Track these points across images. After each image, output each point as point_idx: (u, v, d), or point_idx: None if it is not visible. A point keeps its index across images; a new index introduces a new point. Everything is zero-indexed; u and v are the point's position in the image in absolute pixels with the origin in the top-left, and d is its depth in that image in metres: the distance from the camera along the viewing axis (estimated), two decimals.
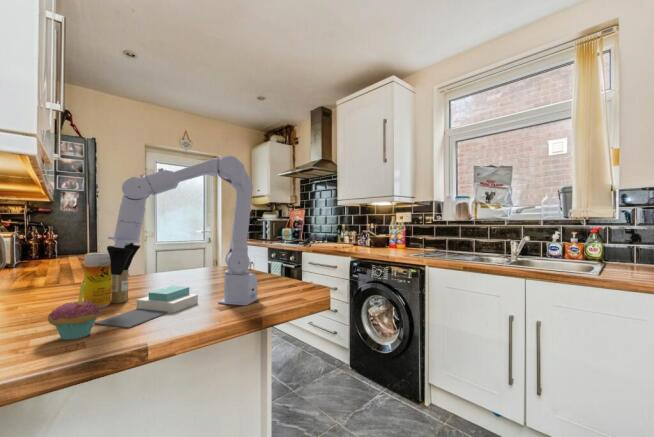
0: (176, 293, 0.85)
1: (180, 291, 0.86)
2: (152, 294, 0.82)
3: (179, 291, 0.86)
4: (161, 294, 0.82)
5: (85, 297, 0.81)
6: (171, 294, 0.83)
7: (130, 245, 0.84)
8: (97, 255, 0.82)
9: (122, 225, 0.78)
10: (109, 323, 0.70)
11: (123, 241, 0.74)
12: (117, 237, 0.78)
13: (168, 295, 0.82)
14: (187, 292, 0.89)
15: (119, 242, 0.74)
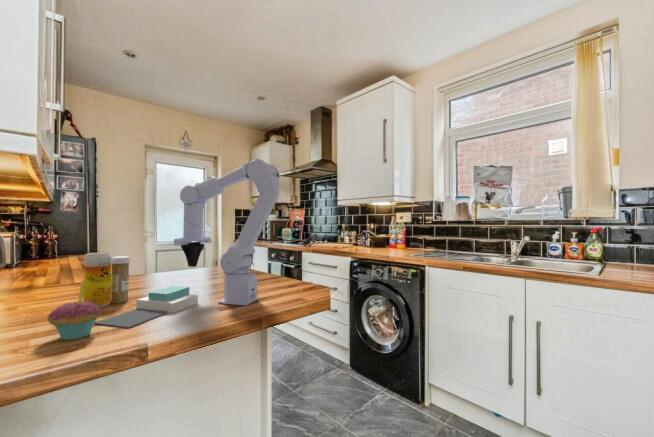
0: (176, 293, 0.85)
1: (180, 291, 0.86)
2: (152, 294, 0.82)
3: (179, 291, 0.86)
4: (161, 294, 0.82)
5: (85, 297, 0.81)
6: (171, 294, 0.83)
7: (195, 244, 0.96)
8: (97, 255, 0.82)
9: (185, 227, 0.94)
10: (109, 323, 0.70)
11: (178, 240, 0.89)
12: (183, 237, 0.94)
13: (168, 295, 0.82)
14: (187, 292, 0.89)
15: (176, 241, 0.89)
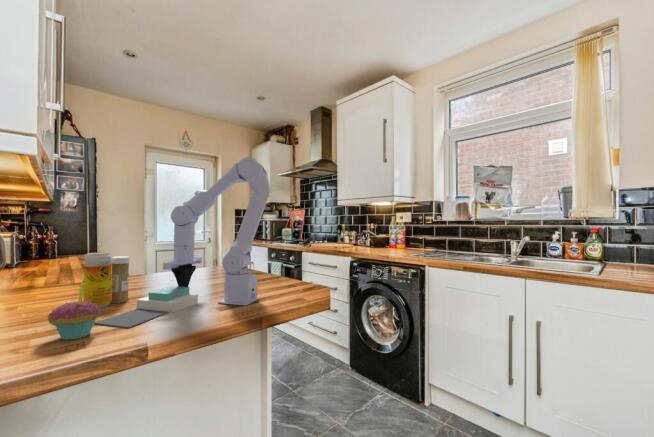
0: (176, 293, 0.85)
1: (180, 291, 0.86)
2: (152, 294, 0.82)
3: (179, 291, 0.86)
4: (161, 294, 0.82)
5: (85, 297, 0.81)
6: (171, 294, 0.83)
7: (186, 266, 0.92)
8: (97, 255, 0.82)
9: (175, 249, 0.90)
10: (109, 323, 0.70)
11: (168, 263, 0.85)
12: (173, 260, 0.90)
13: (168, 295, 0.82)
14: (187, 292, 0.89)
15: (165, 265, 0.85)
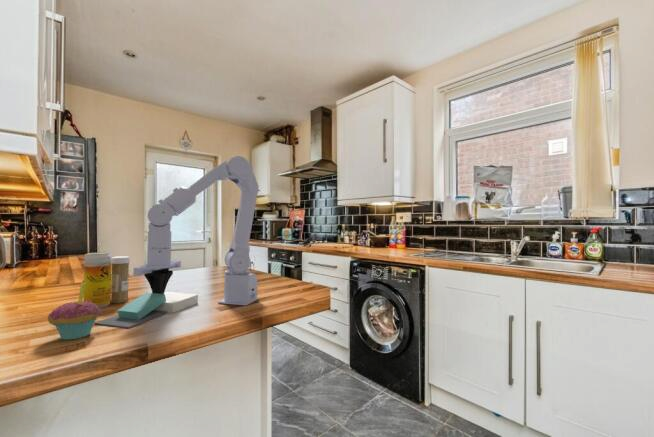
0: (149, 307, 0.76)
1: (154, 303, 0.77)
2: (121, 312, 0.73)
3: (152, 303, 0.77)
4: (131, 312, 0.73)
5: (85, 297, 0.81)
6: (143, 310, 0.74)
7: (161, 272, 0.83)
8: (97, 255, 0.82)
9: (148, 252, 0.80)
10: (109, 323, 0.70)
11: (138, 269, 0.75)
12: (147, 264, 0.80)
13: (139, 313, 0.73)
14: (163, 300, 0.80)
15: (136, 270, 0.75)
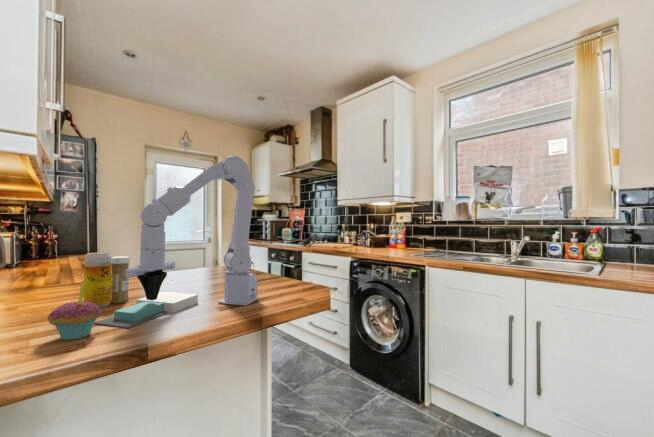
0: (146, 311, 0.75)
1: (151, 309, 0.76)
2: (118, 312, 0.73)
3: (150, 309, 0.76)
4: (128, 313, 0.72)
5: (85, 297, 0.81)
6: (140, 313, 0.73)
7: (155, 273, 0.80)
8: (97, 255, 0.82)
9: (141, 253, 0.78)
10: (109, 323, 0.70)
11: (131, 270, 0.73)
12: (140, 265, 0.78)
13: (136, 314, 0.72)
14: (160, 309, 0.79)
15: (128, 272, 0.73)
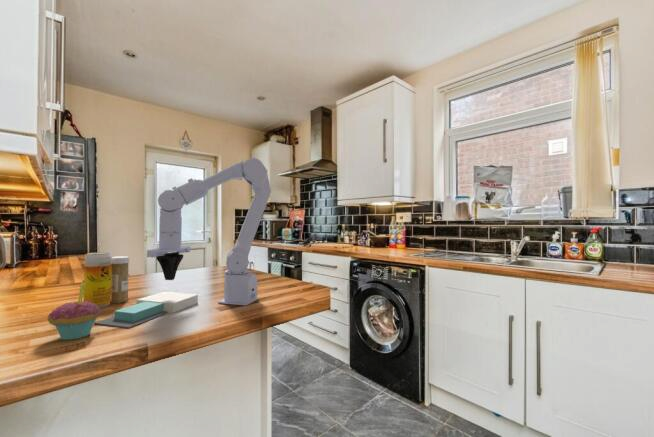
0: (146, 311, 0.75)
1: (151, 309, 0.76)
2: (118, 312, 0.73)
3: (150, 309, 0.76)
4: (128, 313, 0.72)
5: (85, 297, 0.81)
6: (140, 313, 0.73)
7: None
8: (97, 255, 0.82)
9: (160, 236, 0.84)
10: (109, 323, 0.70)
11: (152, 251, 0.79)
12: (159, 248, 0.84)
13: (136, 314, 0.72)
14: (160, 309, 0.79)
15: (149, 252, 0.79)
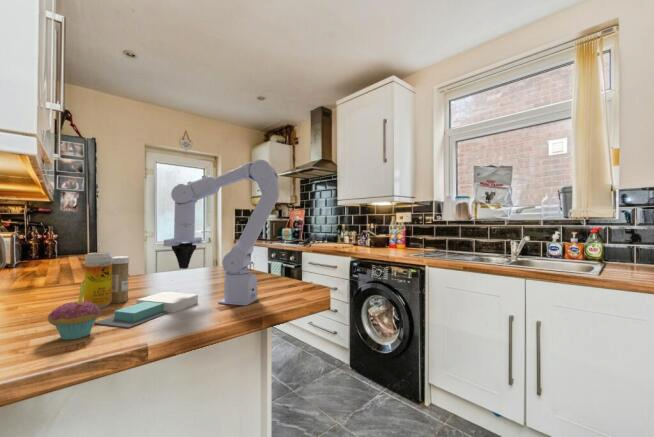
0: (146, 311, 0.75)
1: (151, 309, 0.76)
2: (118, 312, 0.73)
3: (150, 309, 0.76)
4: (128, 313, 0.72)
5: (85, 297, 0.81)
6: (140, 313, 0.73)
7: None
8: (98, 255, 0.82)
9: (175, 227, 0.90)
10: (109, 323, 0.70)
11: (168, 240, 0.85)
12: (174, 238, 0.90)
13: (136, 314, 0.72)
14: (160, 309, 0.79)
15: (166, 242, 0.85)
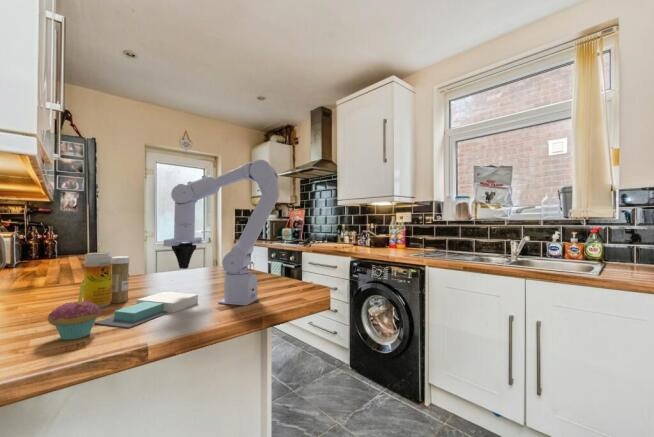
0: (146, 311, 0.75)
1: (151, 309, 0.76)
2: (118, 312, 0.73)
3: (150, 309, 0.76)
4: (128, 313, 0.72)
5: (85, 297, 0.81)
6: (140, 313, 0.73)
7: None
8: (97, 255, 0.82)
9: (175, 227, 0.90)
10: (109, 323, 0.70)
11: (168, 240, 0.85)
12: (174, 238, 0.90)
13: (136, 314, 0.72)
14: (160, 309, 0.79)
15: (166, 242, 0.85)
